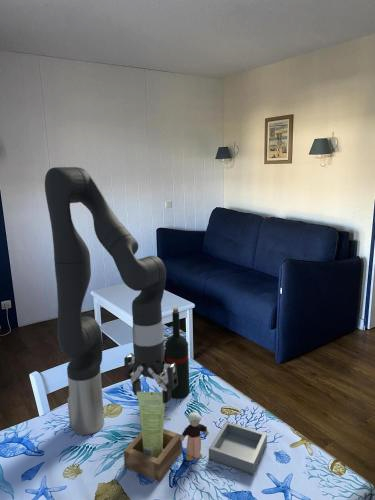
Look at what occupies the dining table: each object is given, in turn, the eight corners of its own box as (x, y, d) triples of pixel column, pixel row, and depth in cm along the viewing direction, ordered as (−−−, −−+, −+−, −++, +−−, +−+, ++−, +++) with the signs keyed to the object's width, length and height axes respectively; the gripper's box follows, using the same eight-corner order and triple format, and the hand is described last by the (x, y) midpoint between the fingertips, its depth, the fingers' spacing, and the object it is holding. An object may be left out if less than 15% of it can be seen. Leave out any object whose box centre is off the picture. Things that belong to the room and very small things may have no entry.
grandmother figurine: (185, 465, 96) (184, 421, 94) (179, 455, 100) (178, 413, 97) (211, 455, 100) (211, 412, 97) (204, 445, 103) (203, 404, 101)
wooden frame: (124, 467, 96) (123, 450, 95) (149, 439, 106) (148, 423, 105) (159, 482, 92) (159, 464, 90) (182, 451, 102) (181, 434, 100)
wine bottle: (161, 385, 133) (157, 304, 126) (189, 385, 132) (188, 304, 126) (158, 399, 125) (154, 313, 119) (189, 399, 125) (187, 313, 118)
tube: (157, 448, 103) (154, 383, 99) (168, 458, 99) (166, 391, 95) (139, 458, 99) (136, 391, 95) (150, 469, 95) (147, 400, 91)
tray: (208, 459, 98) (208, 448, 98) (225, 431, 109) (225, 421, 108) (253, 475, 93) (253, 463, 92) (266, 444, 103) (267, 433, 103)
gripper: (181, 336, 92) (183, 396, 95) (133, 327, 98) (136, 384, 102) (165, 350, 85) (168, 413, 89) (115, 339, 92) (119, 399, 95)
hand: (151, 397), depth 95 cm, fingers open, 8 cm apart
